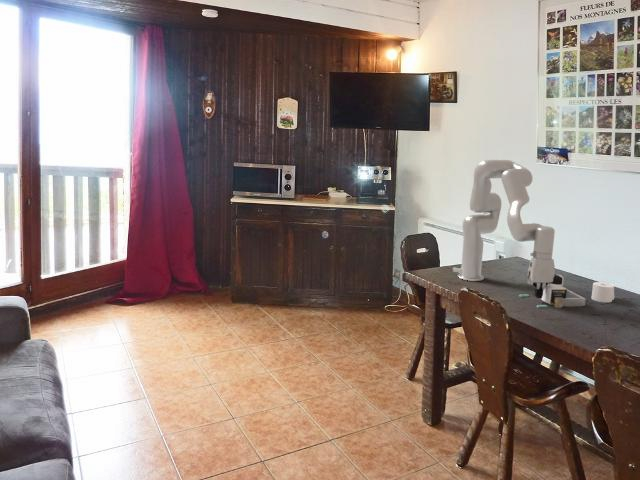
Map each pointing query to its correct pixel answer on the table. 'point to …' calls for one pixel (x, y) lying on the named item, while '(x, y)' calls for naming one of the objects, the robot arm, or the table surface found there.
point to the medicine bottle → (554, 290)
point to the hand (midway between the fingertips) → (538, 297)
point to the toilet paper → (602, 292)
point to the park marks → (537, 305)
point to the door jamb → (558, 302)
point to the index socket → (573, 299)
